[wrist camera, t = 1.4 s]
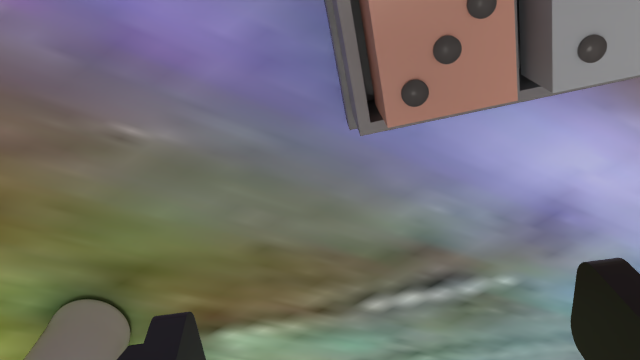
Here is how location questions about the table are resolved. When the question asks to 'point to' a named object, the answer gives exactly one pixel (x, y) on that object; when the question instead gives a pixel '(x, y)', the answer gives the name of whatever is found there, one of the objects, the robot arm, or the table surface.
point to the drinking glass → (83, 333)
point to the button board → (358, 78)
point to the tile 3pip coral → (439, 56)
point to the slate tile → (579, 42)
